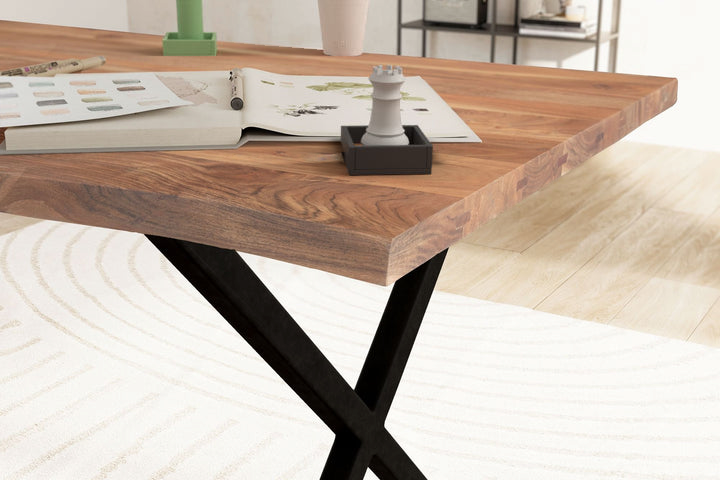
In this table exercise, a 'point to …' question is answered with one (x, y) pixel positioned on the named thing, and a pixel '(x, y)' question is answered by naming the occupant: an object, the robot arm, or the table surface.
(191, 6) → the green peg
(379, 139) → the rook chess piece
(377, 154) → the dark tray
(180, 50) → the green tray
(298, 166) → the table surface
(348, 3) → the dixie cup
